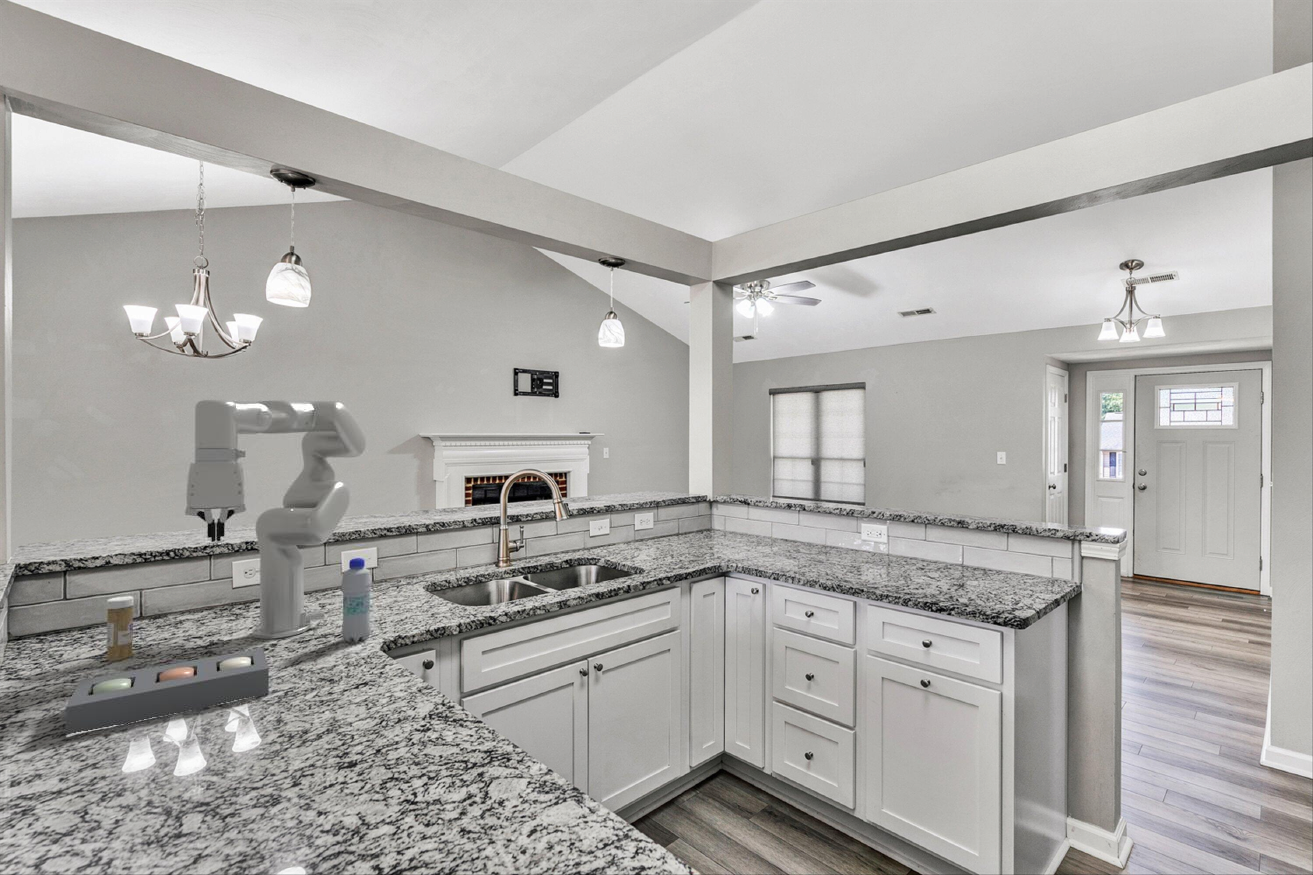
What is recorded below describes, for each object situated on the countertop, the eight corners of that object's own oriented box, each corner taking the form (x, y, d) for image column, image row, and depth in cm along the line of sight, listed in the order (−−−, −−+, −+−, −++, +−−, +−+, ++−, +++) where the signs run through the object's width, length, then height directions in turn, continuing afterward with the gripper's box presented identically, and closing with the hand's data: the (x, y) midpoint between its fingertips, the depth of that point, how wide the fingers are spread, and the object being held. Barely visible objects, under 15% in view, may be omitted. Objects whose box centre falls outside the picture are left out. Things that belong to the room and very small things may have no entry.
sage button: (132, 695, 110) (132, 676, 110) (129, 704, 106) (129, 684, 106) (95, 702, 107) (95, 682, 107) (90, 712, 103) (90, 691, 103)
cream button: (249, 672, 121) (250, 655, 121) (251, 680, 117) (251, 662, 117) (219, 678, 118) (219, 660, 118) (219, 686, 114) (220, 668, 114)
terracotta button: (193, 683, 115) (193, 665, 115) (193, 691, 111) (193, 673, 111) (160, 689, 112) (160, 671, 112) (158, 698, 108) (158, 679, 108)
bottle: (377, 636, 149) (378, 556, 149) (356, 645, 143) (356, 561, 143) (356, 633, 151) (357, 554, 151) (334, 642, 145) (334, 559, 145)
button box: (262, 671, 126) (263, 648, 126) (268, 694, 115) (268, 668, 115) (79, 707, 109) (80, 679, 109) (65, 737, 98) (65, 707, 98)
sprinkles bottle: (131, 658, 133) (131, 598, 133) (103, 663, 131) (104, 601, 131) (135, 652, 137) (135, 594, 137) (108, 656, 135) (108, 597, 135)
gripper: (256, 455, 138) (255, 535, 138) (173, 456, 129) (172, 541, 129) (258, 456, 132) (258, 539, 132) (171, 457, 123) (171, 546, 123)
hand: (215, 540), depth 130 cm, fingers closed
